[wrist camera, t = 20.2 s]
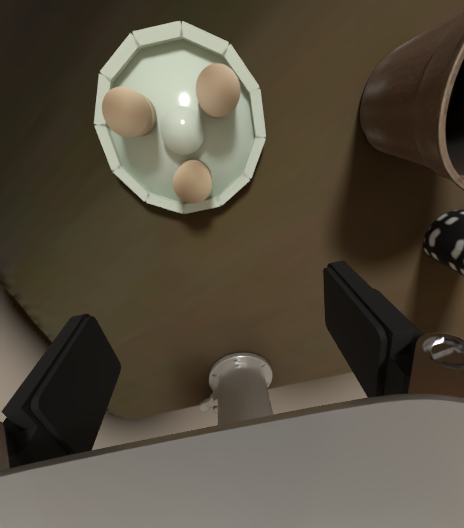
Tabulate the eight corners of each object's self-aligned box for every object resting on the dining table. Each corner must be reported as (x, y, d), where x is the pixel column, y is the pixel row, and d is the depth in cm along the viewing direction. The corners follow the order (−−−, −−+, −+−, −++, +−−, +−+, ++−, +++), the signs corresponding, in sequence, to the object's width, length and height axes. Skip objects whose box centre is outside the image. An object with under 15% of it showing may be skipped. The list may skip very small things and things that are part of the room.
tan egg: (152, 141, 32) (143, 143, 28) (115, 128, 31) (99, 128, 27) (160, 101, 30) (151, 96, 26) (120, 86, 29) (104, 78, 25)
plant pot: (446, 167, 37) (595, 192, 23) (334, 175, 37) (415, 205, 22) (492, 16, 30) (755, -89, 15) (353, 22, 29) (492, -82, 15)
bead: (215, 126, 32) (216, 126, 27) (189, 94, 30) (186, 87, 26) (243, 98, 31) (249, 93, 26) (218, 63, 29) (219, 51, 25)
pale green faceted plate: (185, 234, 39) (183, 240, 36) (68, 122, 31) (57, 122, 29) (290, 139, 34) (296, 140, 32) (182, -20, 26) (180, -34, 24)
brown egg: (217, 171, 34) (219, 177, 30) (200, 200, 36) (199, 210, 31) (187, 151, 33) (184, 155, 28) (171, 182, 34) (165, 190, 30)
